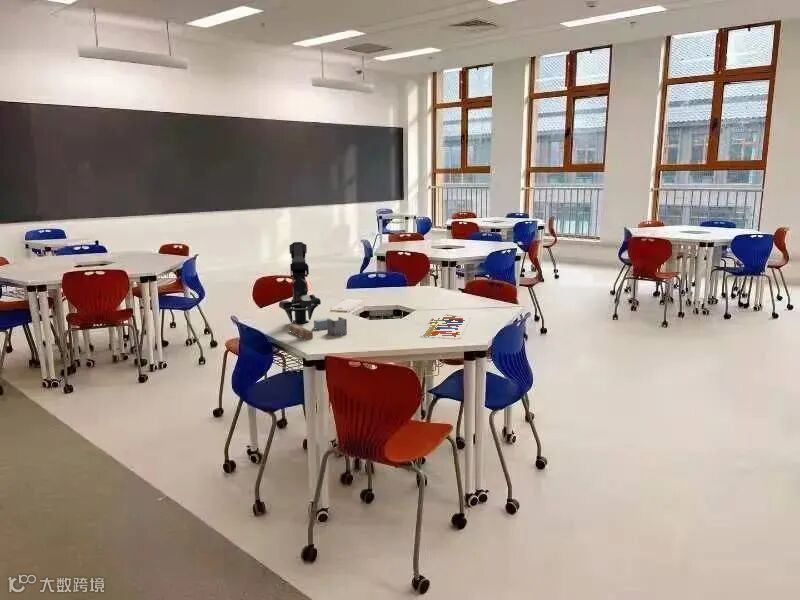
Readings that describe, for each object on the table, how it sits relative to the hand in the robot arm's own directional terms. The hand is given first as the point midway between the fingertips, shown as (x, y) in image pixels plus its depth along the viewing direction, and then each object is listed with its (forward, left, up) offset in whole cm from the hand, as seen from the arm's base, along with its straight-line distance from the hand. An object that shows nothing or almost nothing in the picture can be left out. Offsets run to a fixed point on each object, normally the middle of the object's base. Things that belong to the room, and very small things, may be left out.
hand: (300, 321), depth 278 cm
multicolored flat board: (+26, +66, -7) cm, 71 cm away
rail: (0, 0, -7) cm, 7 cm away
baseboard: (-43, +51, -7) cm, 67 cm away
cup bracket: (+8, +15, -7) cm, 18 cm away
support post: (-6, +15, -7) cm, 18 cm away
